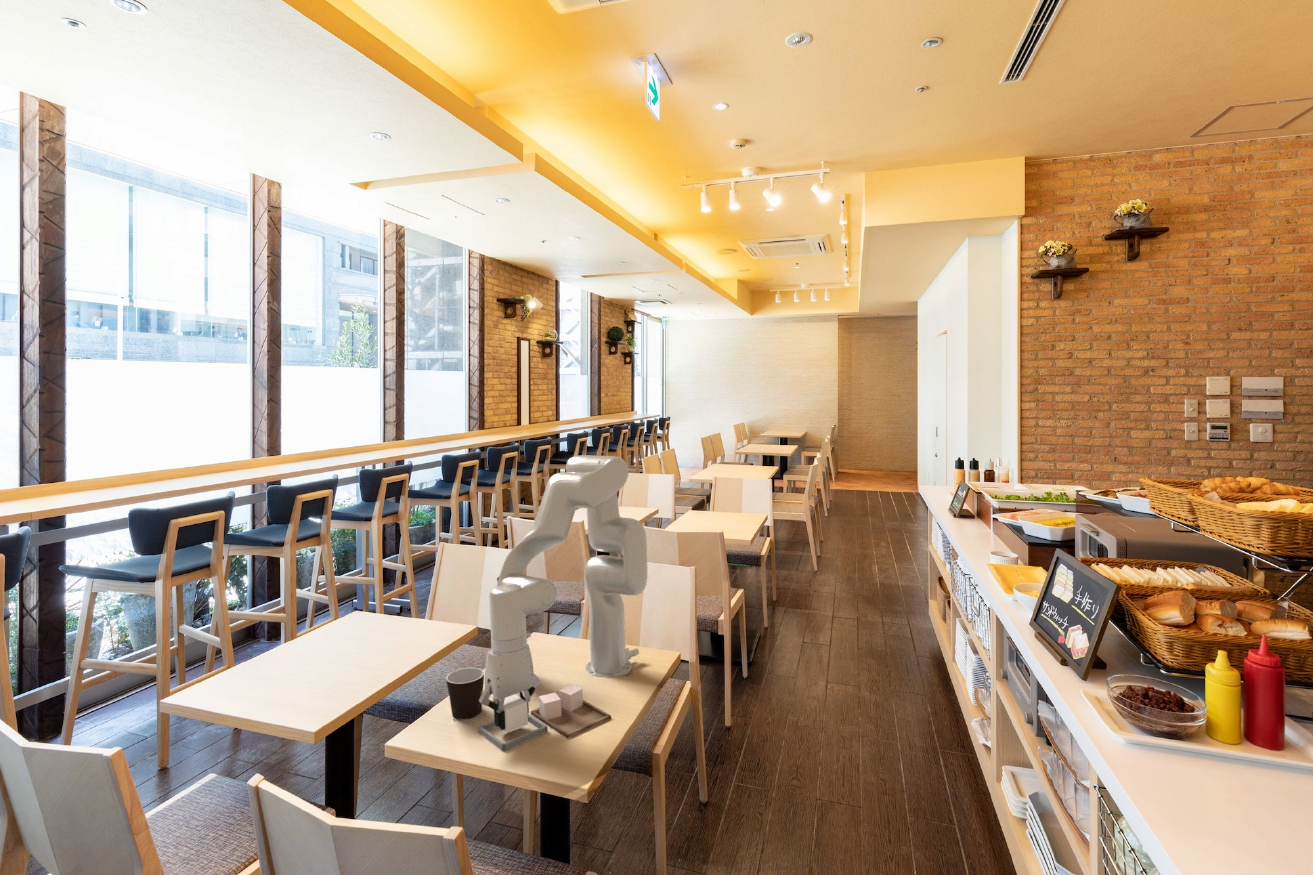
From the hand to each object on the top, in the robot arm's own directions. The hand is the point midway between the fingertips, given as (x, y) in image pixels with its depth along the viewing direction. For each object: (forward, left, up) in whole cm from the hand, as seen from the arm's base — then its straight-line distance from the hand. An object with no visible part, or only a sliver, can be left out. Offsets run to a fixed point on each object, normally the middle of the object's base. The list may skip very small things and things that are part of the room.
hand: (512, 722), depth 141 cm
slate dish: (0, 0, -3) cm, 3 cm away
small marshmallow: (-10, -1, -2) cm, 10 cm away
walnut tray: (-13, +3, -3) cm, 14 cm away
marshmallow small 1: (-16, -1, -2) cm, 16 cm away
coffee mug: (+2, -17, -4) cm, 17 cm away
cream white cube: (0, 0, 0) cm, 0 cm away
